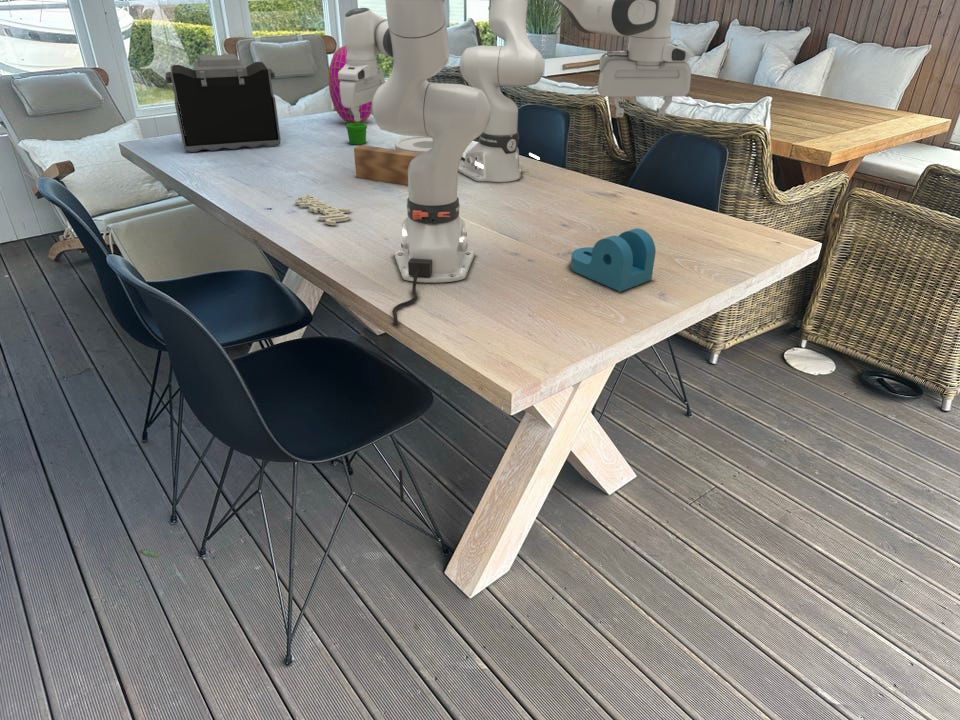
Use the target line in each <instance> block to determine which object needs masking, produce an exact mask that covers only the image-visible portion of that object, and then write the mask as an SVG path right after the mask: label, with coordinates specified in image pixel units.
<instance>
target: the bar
mask: <svg viewBox="0 0 960 720" xmlns="http://www.w3.org/2000/svg"><path fill="white" fill-rule="evenodd" d="M353 153H354V154H353V156H354V166H355V168H354V169H355V177H356V178H359V179H366V180H371V181H372V180H373V181H377V182H385V183H392V184H397V185H404V186H408V167H409V164H410V162H411V161H412V159H413V158H415V157H416V156H418V155H419V154H421V153H417V152H410V151H402V150H395V148H386V147H380V146H373V145H365V144H360V145H359V146H356V147H354V148H353Z"/></svg>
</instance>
